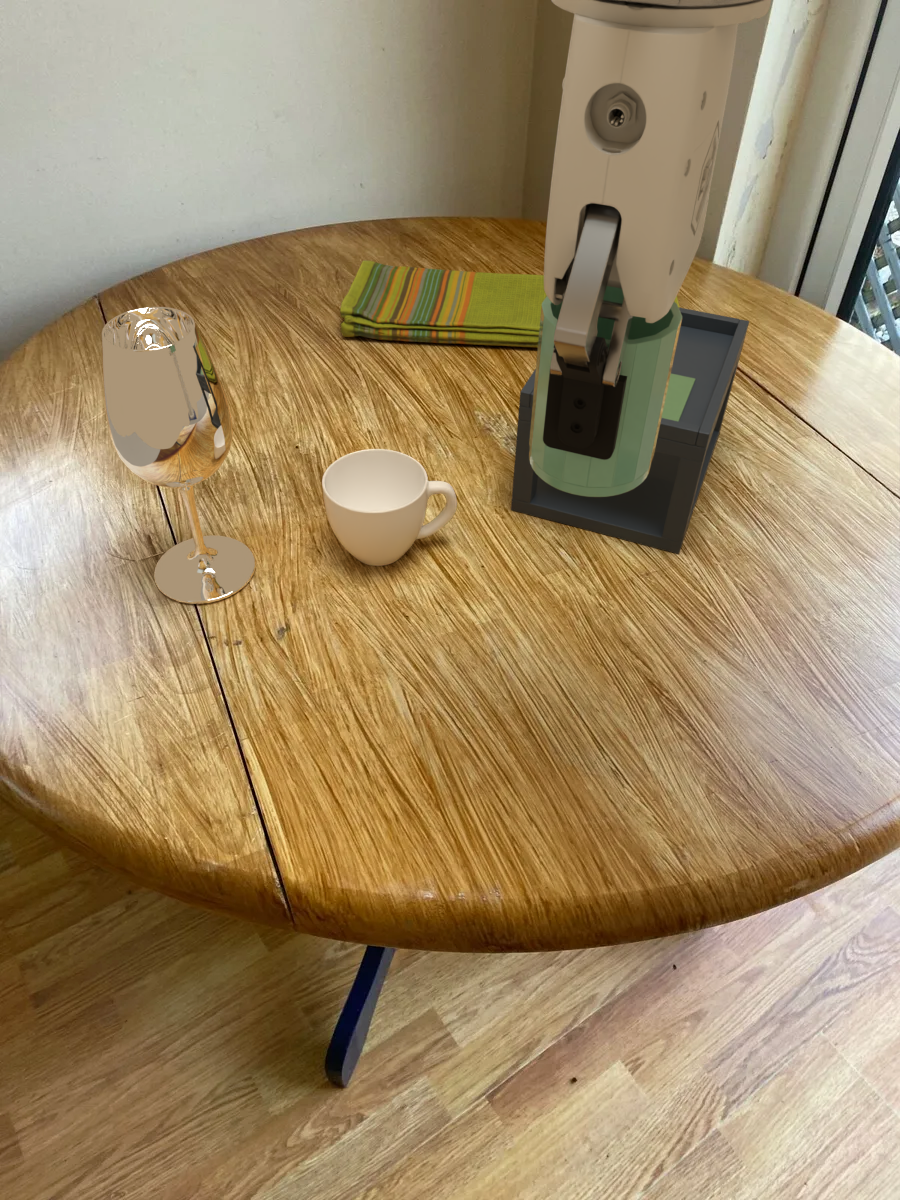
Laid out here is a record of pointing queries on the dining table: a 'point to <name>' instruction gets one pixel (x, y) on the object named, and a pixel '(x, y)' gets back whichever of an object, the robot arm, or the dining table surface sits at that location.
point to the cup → (381, 504)
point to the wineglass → (173, 438)
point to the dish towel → (443, 306)
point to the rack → (679, 454)
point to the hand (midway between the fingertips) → (597, 408)
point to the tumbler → (639, 414)
